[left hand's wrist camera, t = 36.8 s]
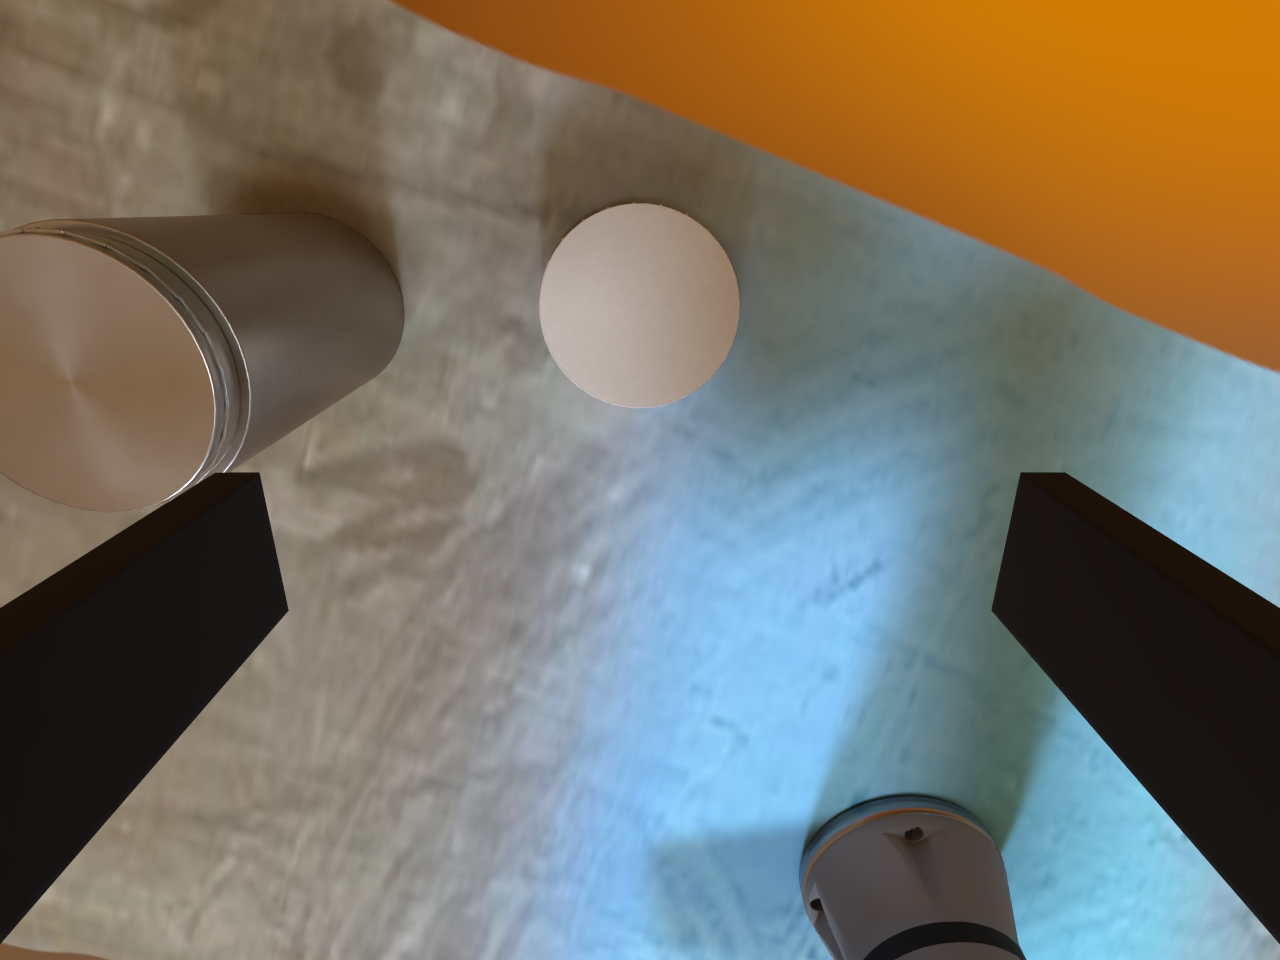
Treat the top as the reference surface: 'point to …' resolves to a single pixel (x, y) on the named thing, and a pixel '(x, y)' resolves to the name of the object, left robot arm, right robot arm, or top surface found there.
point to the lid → (639, 305)
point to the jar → (178, 346)
